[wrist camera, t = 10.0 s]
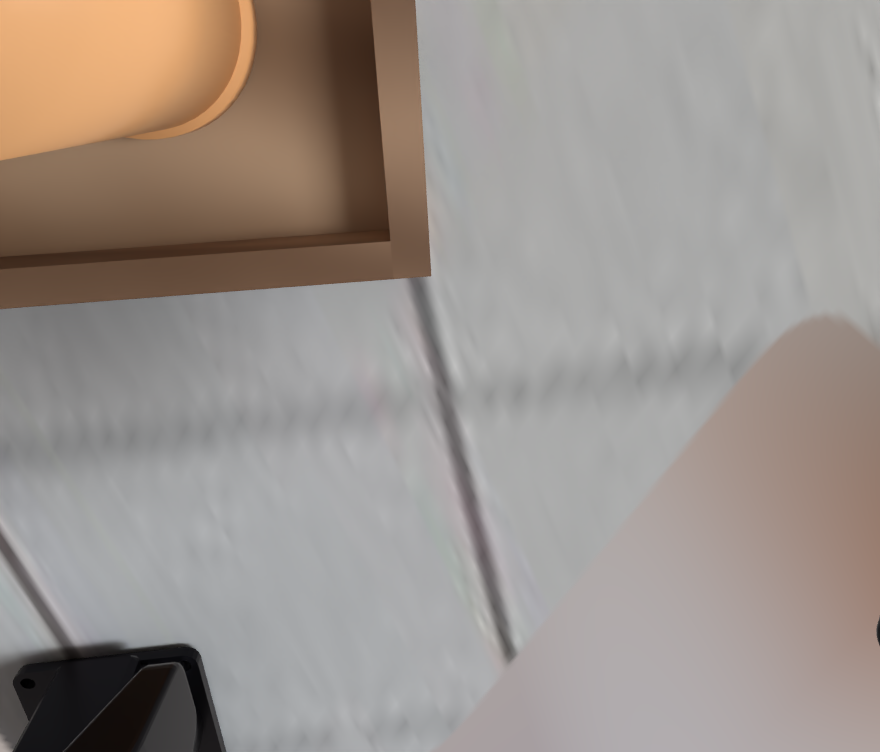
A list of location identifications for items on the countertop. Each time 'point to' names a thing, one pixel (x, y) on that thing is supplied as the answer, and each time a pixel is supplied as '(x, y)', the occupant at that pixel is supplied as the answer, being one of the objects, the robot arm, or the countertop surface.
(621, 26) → the countertop surface
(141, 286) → the walnut tray
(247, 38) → the peach dome-topped cylinder
